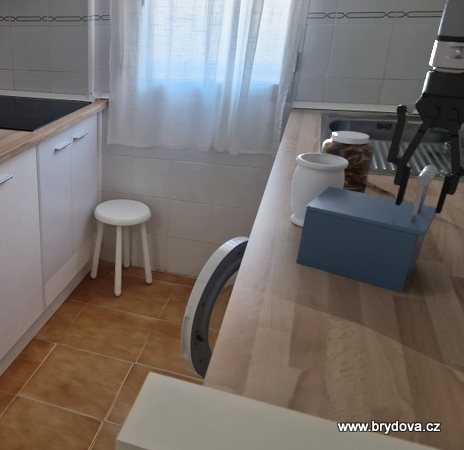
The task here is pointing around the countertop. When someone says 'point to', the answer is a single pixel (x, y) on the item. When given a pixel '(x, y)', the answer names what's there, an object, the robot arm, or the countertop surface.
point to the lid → (380, 207)
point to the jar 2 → (352, 157)
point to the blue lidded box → (359, 250)
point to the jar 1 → (314, 180)
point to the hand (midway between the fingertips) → (418, 206)
